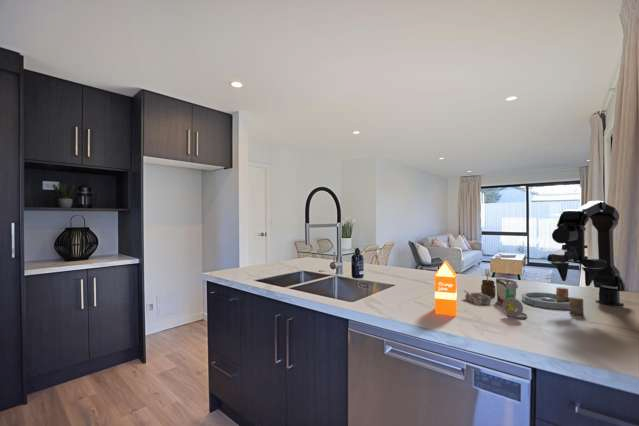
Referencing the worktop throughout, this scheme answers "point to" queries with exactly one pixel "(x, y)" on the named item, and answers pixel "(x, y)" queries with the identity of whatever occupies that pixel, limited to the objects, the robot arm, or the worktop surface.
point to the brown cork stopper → (561, 294)
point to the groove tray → (544, 300)
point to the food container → (505, 289)
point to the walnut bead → (576, 306)
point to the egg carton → (478, 298)
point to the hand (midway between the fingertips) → (575, 283)
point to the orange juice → (445, 290)
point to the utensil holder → (488, 286)
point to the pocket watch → (513, 307)
